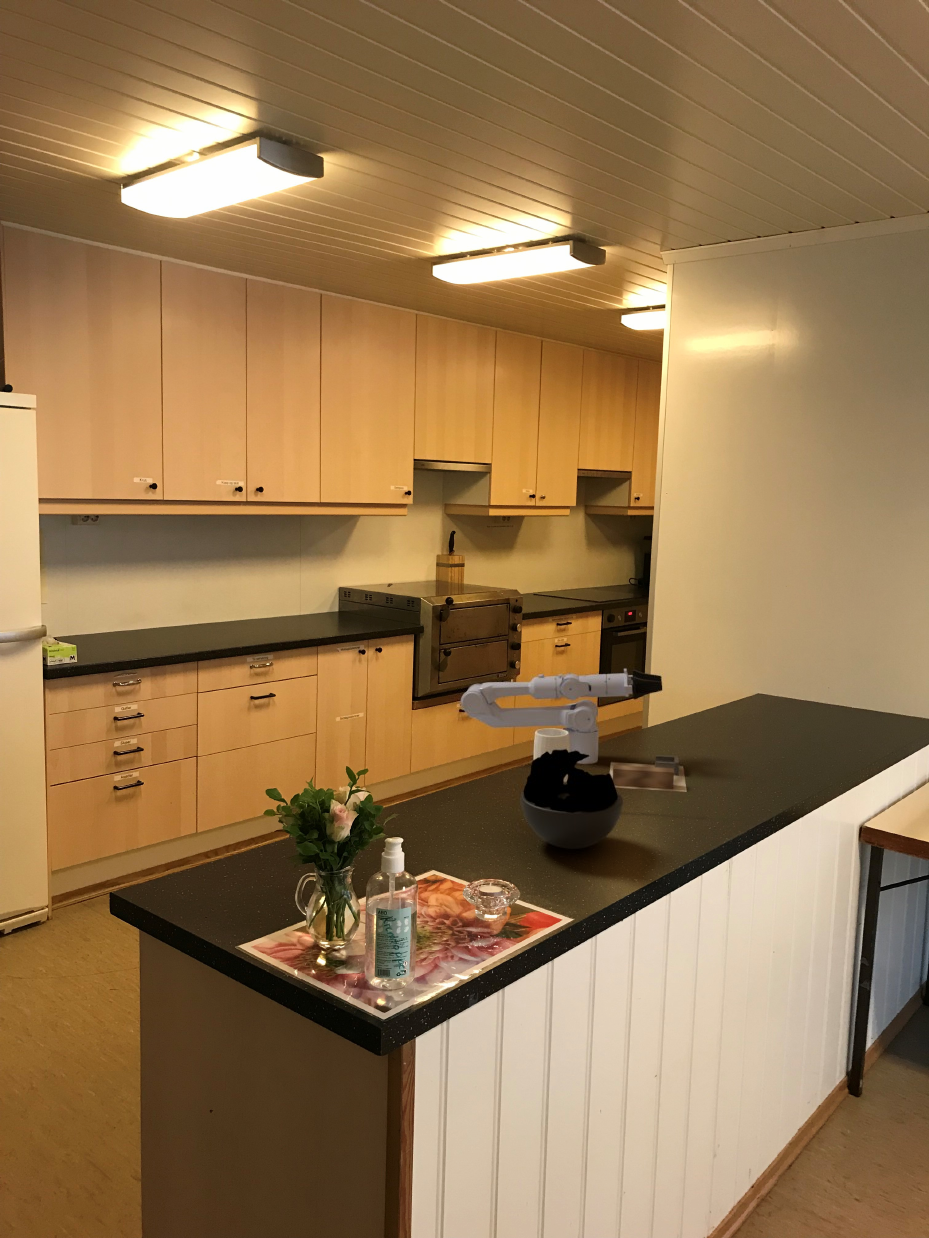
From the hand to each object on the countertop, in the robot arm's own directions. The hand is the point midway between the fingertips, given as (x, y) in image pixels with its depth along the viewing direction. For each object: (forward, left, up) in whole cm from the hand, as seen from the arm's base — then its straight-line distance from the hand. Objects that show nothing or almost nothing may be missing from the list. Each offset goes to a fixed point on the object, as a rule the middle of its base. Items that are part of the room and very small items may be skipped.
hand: (661, 683), depth 247 cm
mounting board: (-3, -11, -22) cm, 25 cm away
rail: (-4, -19, -21) cm, 29 cm away
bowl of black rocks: (-18, -60, -22) cm, 66 cm away
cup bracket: (+2, -6, -21) cm, 22 cm away
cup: (-25, -26, -22) cm, 42 cm away
